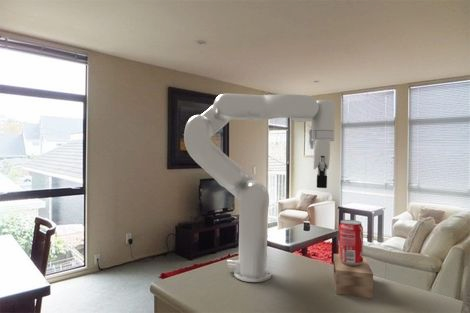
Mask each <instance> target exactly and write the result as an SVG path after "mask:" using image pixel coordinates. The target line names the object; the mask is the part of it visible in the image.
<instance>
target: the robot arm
mask: <svg viewBox="0 0 470 313" xmlns="http://www.w3.org/2000/svg"><path fill="white" fill-rule="evenodd" d="M335 114H336V104H335V102H334V101H333V100H331V99H318V100H317V99H315V97H313V96H310V95H306V94H305V95H303V94H289V93H288V94H287V93H284V94H283V93H282V94H247V93H245V94H244V93H226V92H225V93H220V94H219V95H218V96H216V98H215V100H214V101H213V104H212V105H211V106H210V107H209V108H208V109H206V110H205V111H204V112H203V113H201V114H196V115H193V116H191V117H190V118H189V119H188V121H186V124H185V128H184V133H183V139H184V140H183V142H184V145H185V146H184V147H185V149H186V151H187V153H188V155H189V156H190V157H191V158H192V159H193V161H194V162H195V163H196V164H197V165H198V166H200V167H201V168H202V169H203V170H204V171H205V172H206V173H207V174H208V175H209V176H210V177H212V178H213V179H214V180H215V181H216V182H217V183H218V185H219V186H221V187H223V188H225V189H226V190H227V191H228V192H229V193H230V194H232V195H233V197H235V198H236V199H238V200H239V213H238V217H239V218H238V221H239V222H238V259H236V260H233V259H232V260H231V259H227V260H226V266H227V267H228V269H229V268H230V269H233V268H234V271H233V276H234V277H235V279H237V280H240V281H243V282H248V283H262V282H265V281H268V280H270V279H271V278H272V271H271V270H270V269H269V268H267V267H268V220H269V219H268V217H269V216H268V215H269V207H270V196H269V195H270V194H269V191H268V189H267V187H266V186H265V185H264V184H262V182H259V181H258V180H256V179H255V178H254V177H252V176H251V175H250V174H249V173H248V172H247V171H246V170H244V168H242V167H241V165H240V164H239V163H237V162H236V161H235V160H233V159H231V157H229V156H228V155H227V154H225V153H224V152H223V151H222V150H221V149H220V148H219V147H218V146H217V145H215V143H214V142H213V141H212V137H213V136H214V135H215V134H216V133H217V132H219V131H220V130H221V129H222V128H224V127H225V126H226V125H227V124H228V123H229V122H230V121H231V120H239V121H240V120H245V121H259V122H260V121H261V122H262V121H268V120H272V119H279V118H280V119H281V118H282V119H283V118H285V119H286V118H287V119H291V120H292V121H293V122H295V123H296V122H297V123H305V122H311V142H313V143H314V144H313V170H316V168H317V175H316V188H317V189H326V188H328V176H327V171H328V170H329V167H330V160H331V142H335V122H336V121H335V119H336V118H335V117H336V115H335Z"/></svg>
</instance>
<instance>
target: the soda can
mask: <svg viewBox="0 0 470 313" xmlns="http://www.w3.org/2000/svg"><path fill="white" fill-rule="evenodd" d="M338 254H339V260H340V261H341V262H342V263H343V264H345V265H350V266H358V265H361V263H362V262H363V256H364V227H363V225H362V221H359V220H354V219H342V220H340V224H339V226H338Z"/></svg>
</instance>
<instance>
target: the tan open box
mask: <svg viewBox="0 0 470 313" xmlns="http://www.w3.org/2000/svg"><path fill="white" fill-rule="evenodd" d="M332 275H333V281H334V286H335V287H334V289H335V290H334V291H335V294H336V295H342V296H351V297H359V298H367V299H374V298H373V296H374V273H373V271H372V269H371V267H370V264H369V262H368V260H367V258H366V256H364V255H363V262H362V263H361V265H358V266H350V265H345V264H343V263H342V262H341V261H340V260H339V253H333V274H332Z"/></svg>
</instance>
